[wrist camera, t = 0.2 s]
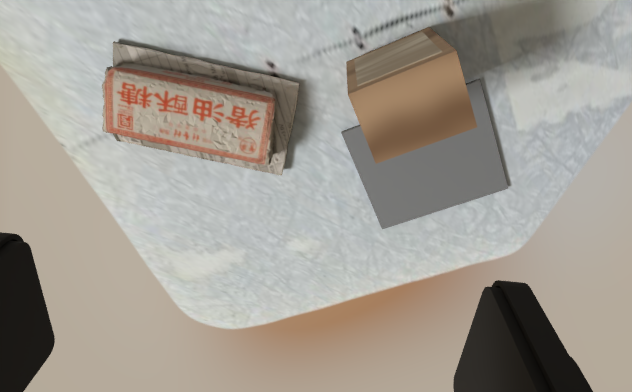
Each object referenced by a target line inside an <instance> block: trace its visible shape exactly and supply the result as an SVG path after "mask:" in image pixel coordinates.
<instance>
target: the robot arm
mask: <svg viewBox="0 0 632 392" xmlns="http://www.w3.org/2000/svg"><path fill="white" fill-rule="evenodd" d="M53 347H54V333H53V330H52V326H51V323H50V319H49V315H48V311H47V307H46V304H45V300H44V296H43V293H42V289H41V285H40V281H39V278H38V274H37V270H36V267H35V263H34V259H33V256H32V252H31V248H30V246H29V245H28V244H27V243H26V242H24V241H23V239H22V238H21V237H20V236H19V235H17V234H10V233H0V392H23V391H24V390H25V388H26V387H27V386H28V384H29V383H30V381H31V380H32V379H33V377H34V376H35V375H36V373H37V372H38V371H39V369H40V368H41V366H42V365H43V364H44V362H45V361H46V359H47V358H48V357H49V355H50V354H51V352H52V349H53ZM454 392H593V391H592V389H591V388H590V386H589V384H588V382H587V380H586V379H585V377H584V375H583V374H582V372H581V370H580V368H579V367H578V365H577V364H576V362H575V361H574V360H573V358H572V357H570V356H569V355H568V353H567V351H566V349H565V348H564V346H563V344H562V342H561V341H560V339H559V337H558V335H557V334H556V332H555V330H554V328H553V327H552V325H551V323H550V322H549V320H548V318H547V317H546V315H545V313H544V311H543V309H542V308H541V306H540V304H539V302H538V301H537V299H536V297H535V295H534V294H533V292H532V290H531V288H530V287H529V286H528V284H525V283H519V282H509V281H499V280H498V281H495V283H493V285H492V287H485V289H484V290H483V292H482V295H481V298H480V302H479V304H478V308H477V310H476V313H475V316H474V319H473V322H472V325H471V329H470V331H469V334H468V337H467V340H466V343H465V346H464V349H463V352H462V355H461V358H460V361H459V364H458V367H457V370H456V373H455V376H454Z"/></svg>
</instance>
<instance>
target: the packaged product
mask: <svg viewBox="0 0 632 392" xmlns="http://www.w3.org/2000/svg"><path fill="white" fill-rule="evenodd" d="M102 89H103V98H104V107H103V118H104V121H103V128H102V129H103V131H104V132H106V133H113V135H114V136H115V138H116V140H117V141H122V142H128V143H132V144H137V145H141V146H146V147H151V148H156V149H160V150H166V151H169V152H175V153H179V154H184V155H187V156H192V157H198V158H202V159H207V160H212V161H217V162H221V163H228V164H231V165H235V166H239V167H244V168H249V169H253V170H258V171H262V172H268V173H273V174H276V175H282V172H283V169H284V165H285V161H286V154H287V147H288V142H289V138H290V134H291V130H292V126H293V121H294V116H295V111H296V106H297V98H298V89H299V83H297V82H293V81H290V80H286V79H282V78H278V77H274V76H269V75H265V74H261V73H255V72H247V71H243V70H239V69H235V68H231V67H226V66H222V65H218V64H213V63H209V62H206V61H203V60H199V59H195V58H189V57H186V56H178V55H171V54H167V53H164V52H160V51H156V50H153V49H148V48H143V47H137V46H131V45H125V44H121V43H118V42H113V67H112V66H111V67H107V69H106V72H105V80H104V82H103V84H102Z"/></svg>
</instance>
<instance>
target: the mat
mask: <svg viewBox="0 0 632 392" xmlns="http://www.w3.org/2000/svg"><path fill="white" fill-rule="evenodd" d="M466 87H467V91H468V94H469V98H470V102H471V105H472V109H473V113H474V116H475V120H476V123H477V128H474V129H471V130H468V131H466V132H463V133H460V134H457V135H455V136H452V137H449V138H446V139H443V140H441V141H438V142H435V143H432V144H430V145H427V146H424V147H421V148H419V149H416V150H413V151H410V152H407V153H405V154H402V155H399V156H396V157H394V158H391V159H388V160H385V161H383V162H380V163H377V164H376V163H375V161H374V158H373V156H372V153H371V151H370V148H369V146H368V143H367V141H366V138H365V136H364V133H363V131H362V128H361V126H360V125H358V126H356V127H353V128H350V129H348V130H345V131H343V132H342V135H343V138H344V140H345V142H346V145H347V147H348V150H349V152H350V154H351V157H352V159H353V161H354V164H355V166H356V168H357V171H358V173H359V175H360V178H361V180H362V183H363V185H364V187H365V190H366V192H367V194H368V197H369V199H370V201H371V204H372V206H373V208H374V211H375V213H376V216H377V218H378V220H379V223H380V225H381V227H382V229H385V228H388V227H391V226H394V225H397V224H400V223H403V222H406V221H409V220H412V219H415V218H419V217H422V216H425V215H428V214H431V213H434V212H437V211H440V210H443V209H446V208H449V207H452V206H456V205H459V204H462V203H465V202H468V201H471V200H474V199H477V198H480V197H483V196H486V195H489V194H493V193H496V192H499V191H502V190H505V189H508V186H507V182H506V178H505V174H504V170H503V166H502V163H501V159H500V155H499V151H498V147H497V143H496V139H495V136H494V132H493V128H492V124H491V120H490V116H489V112H488V108H487V105H486V101H485V97H484V93H483V89H482V85H481V81H480V79H477V80H475V81H472V82H470V83H467V84H466Z"/></svg>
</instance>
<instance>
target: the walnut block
mask: <svg viewBox="0 0 632 392" xmlns="http://www.w3.org/2000/svg"><path fill="white" fill-rule="evenodd" d="M346 64H347V84H348V96H349V98H350V101H351V103H352V106H353V108H354V111H355V113H356V116H357V118H358V121H359V123H360V126H361V128H362V131H363V133H364V136H365V138H366V141H367V143H368V146H369V148H370V151H371V153H372V156H373V158H374V161H375V163H376V164H377V163H380V162H383V161H385V160H388V159H391V158H394V157H396V156H399V155H402V154H405V153H407V152H410V151H413V150H416V149H419V148H421V147H424V146H427V145H430V144H432V143H435V142H438V141H441V140H443V139H446V138H449V137H452V136H455V135H457V134H460V133H463V132H466V131H468V130H471V129H474V128H477V123H476V120H475V116H474V113H473V109H472V105H471V102H470V98H469V94H468V91H467V87H466V83H465V80H464V76H463V72H462V69H461V65H460V62H459V58H458V54H457V51H456V50H455V49H454V48H453V47H452V46H451V45H449V44H448V43H447V42H446V41H445V40H444V39H442V38H441V37H440V36H439V35H438V34H436V33H435V32H434V31H433V30H432V29H431V28H429V27H428V28H425V29H423V30H421V31H418V32H416V33H414V34H411V35H409V36H407V37H404V38H402V39H399V40H397V41H395V42H392V43H390V44H388V45H385V46H383V47H381V48H378V49H376V50H373V51H371V52H369V53H366V54H364V55H362V56H359V57H357V58H355V59H352V60H350V61H347V62H346Z"/></svg>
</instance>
